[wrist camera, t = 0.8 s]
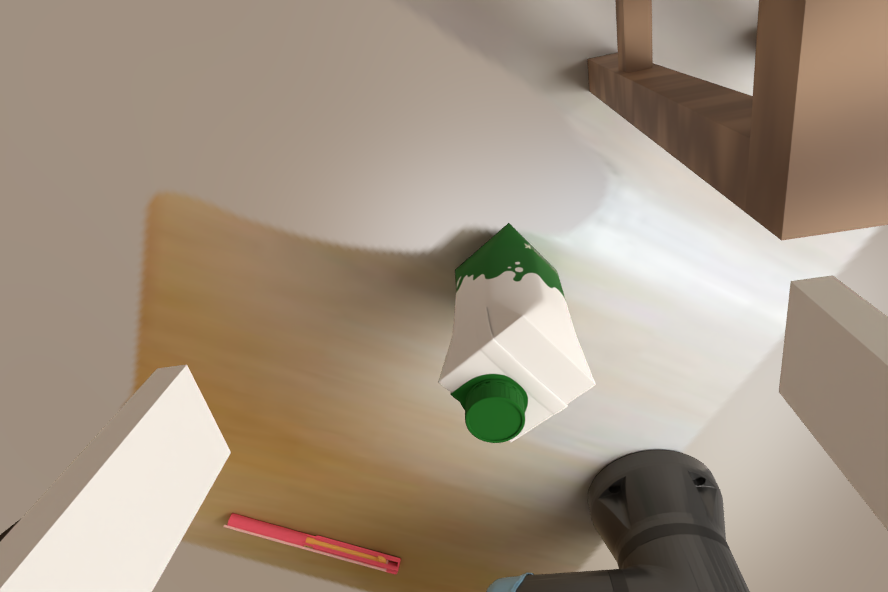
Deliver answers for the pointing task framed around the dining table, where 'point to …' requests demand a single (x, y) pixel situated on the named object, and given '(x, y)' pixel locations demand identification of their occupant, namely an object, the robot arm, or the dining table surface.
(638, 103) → the walnut stool
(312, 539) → the red long bar
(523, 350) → the milk carton
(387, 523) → the dining table surface
